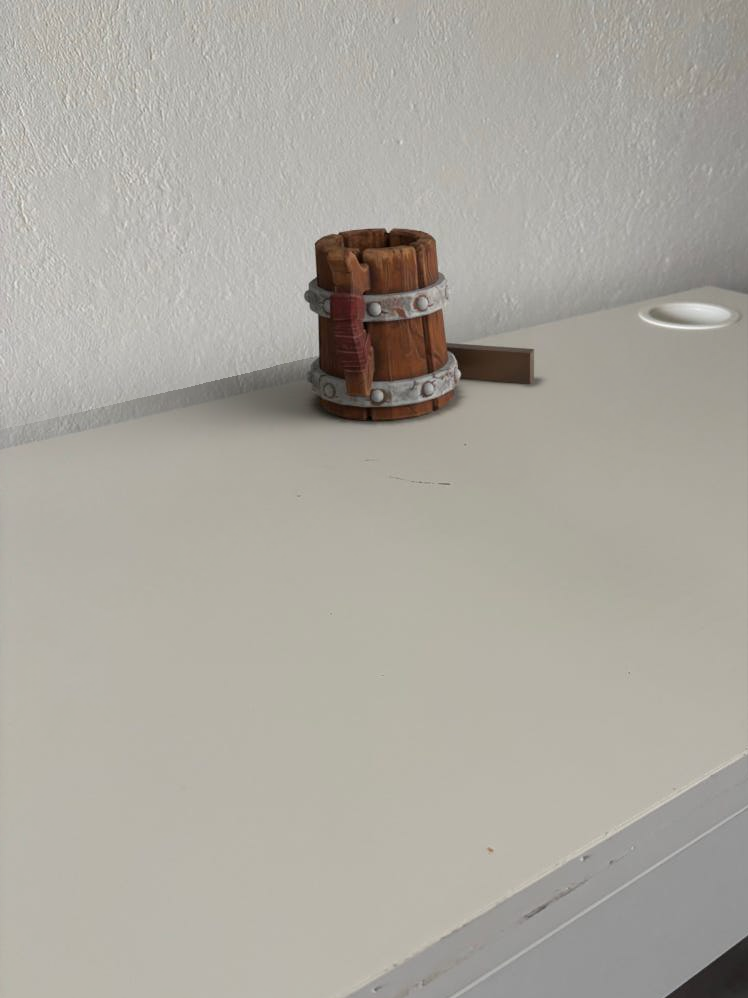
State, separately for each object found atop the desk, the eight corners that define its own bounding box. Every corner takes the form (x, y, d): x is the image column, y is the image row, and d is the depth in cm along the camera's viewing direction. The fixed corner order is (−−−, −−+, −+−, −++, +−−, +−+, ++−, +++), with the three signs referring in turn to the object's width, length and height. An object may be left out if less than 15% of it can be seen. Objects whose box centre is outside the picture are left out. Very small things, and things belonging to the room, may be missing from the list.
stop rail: (369, 371, 86) (366, 341, 85) (374, 367, 87) (372, 337, 86) (530, 384, 83) (530, 353, 81) (534, 379, 84) (534, 348, 82)
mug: (477, 370, 85) (466, 181, 75) (443, 463, 75) (424, 258, 65) (341, 365, 87) (312, 180, 77) (289, 455, 76) (248, 255, 66)
